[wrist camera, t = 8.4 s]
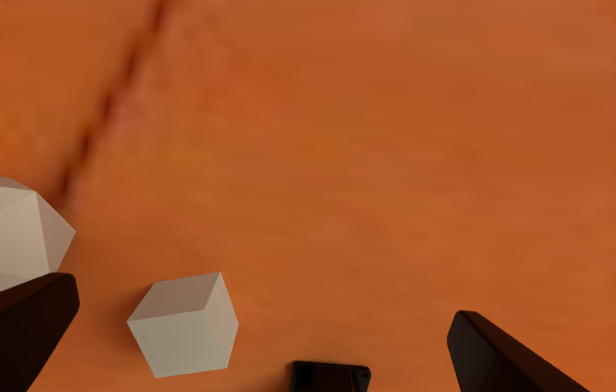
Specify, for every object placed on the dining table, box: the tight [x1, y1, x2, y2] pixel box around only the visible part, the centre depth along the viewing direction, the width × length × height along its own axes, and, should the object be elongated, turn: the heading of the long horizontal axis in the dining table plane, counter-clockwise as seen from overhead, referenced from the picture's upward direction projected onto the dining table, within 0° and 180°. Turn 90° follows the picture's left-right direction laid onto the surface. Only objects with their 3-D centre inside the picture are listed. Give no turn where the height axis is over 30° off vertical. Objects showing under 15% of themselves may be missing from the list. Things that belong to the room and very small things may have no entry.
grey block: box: [127, 272, 239, 378], centre depth 22 cm, size 5×5×4 cm
